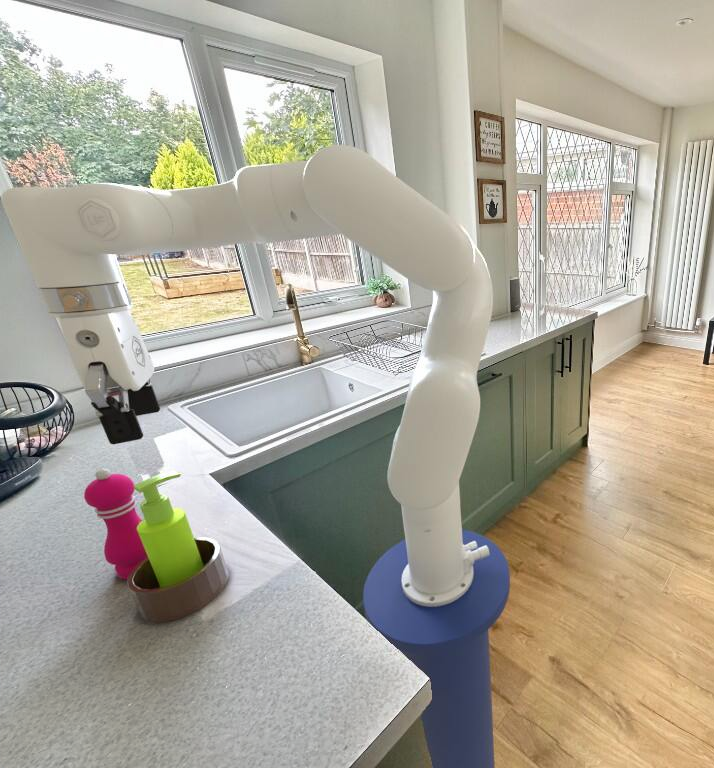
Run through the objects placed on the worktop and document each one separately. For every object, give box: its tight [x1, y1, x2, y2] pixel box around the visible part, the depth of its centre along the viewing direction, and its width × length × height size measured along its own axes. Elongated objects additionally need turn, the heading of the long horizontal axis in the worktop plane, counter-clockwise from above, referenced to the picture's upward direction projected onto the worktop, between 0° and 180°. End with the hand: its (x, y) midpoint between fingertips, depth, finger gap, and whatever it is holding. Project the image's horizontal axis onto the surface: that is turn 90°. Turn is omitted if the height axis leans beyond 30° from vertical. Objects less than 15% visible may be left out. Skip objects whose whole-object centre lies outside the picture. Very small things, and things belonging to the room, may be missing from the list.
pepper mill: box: [83, 468, 148, 580], centre depth 70 cm, size 7×7×20 cm
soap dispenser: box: [134, 470, 204, 588], centre depth 66 cm, size 6×7×20 cm
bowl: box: [126, 536, 230, 624], centre depth 68 cm, size 12×12×6 cm
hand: (137, 426), depth 56 cm, fingers open, 9 cm apart
